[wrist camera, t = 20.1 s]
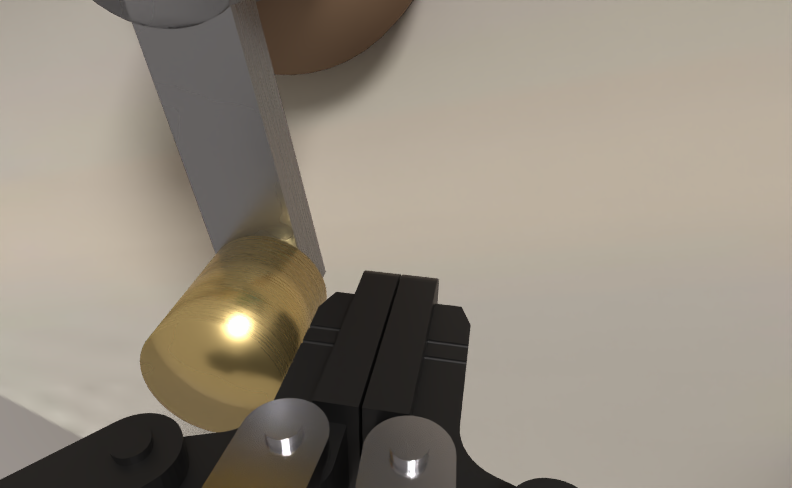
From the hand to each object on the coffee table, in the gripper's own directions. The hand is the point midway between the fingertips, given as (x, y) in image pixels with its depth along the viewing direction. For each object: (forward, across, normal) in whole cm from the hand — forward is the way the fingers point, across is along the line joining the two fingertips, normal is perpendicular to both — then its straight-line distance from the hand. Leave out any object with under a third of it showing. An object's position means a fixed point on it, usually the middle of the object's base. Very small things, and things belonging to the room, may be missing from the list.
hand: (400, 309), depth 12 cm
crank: (+2, +4, -4) cm, 6 cm away
